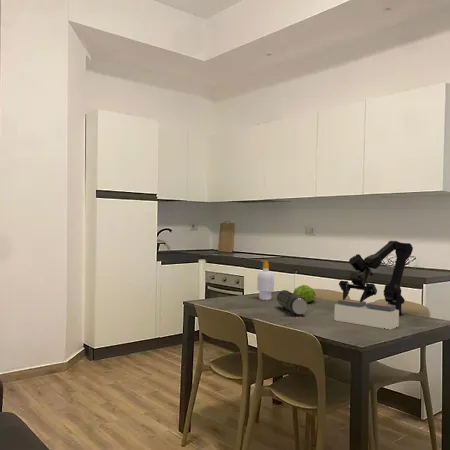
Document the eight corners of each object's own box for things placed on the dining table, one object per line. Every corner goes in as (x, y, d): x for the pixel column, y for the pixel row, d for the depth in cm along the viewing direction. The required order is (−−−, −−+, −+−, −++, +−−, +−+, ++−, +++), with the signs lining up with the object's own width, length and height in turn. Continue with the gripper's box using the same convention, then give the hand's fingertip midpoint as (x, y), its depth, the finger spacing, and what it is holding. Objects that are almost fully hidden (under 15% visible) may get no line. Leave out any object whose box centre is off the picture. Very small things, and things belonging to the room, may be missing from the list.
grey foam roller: (292, 307, 275) (292, 289, 275) (308, 317, 247) (309, 297, 247) (276, 307, 273) (276, 289, 273) (291, 317, 245) (291, 297, 245)
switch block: (343, 317, 245) (343, 302, 245) (398, 326, 226) (398, 309, 226) (334, 320, 239) (334, 304, 239) (390, 329, 219) (390, 312, 219)
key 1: (343, 302, 244) (343, 298, 244) (365, 305, 236) (365, 301, 236) (338, 303, 239) (338, 300, 239) (360, 306, 231) (360, 303, 231)
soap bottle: (256, 297, 307) (257, 260, 307) (273, 298, 306) (273, 260, 306) (257, 300, 297) (257, 261, 296) (274, 300, 296) (274, 261, 296)
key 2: (371, 305, 234) (371, 302, 233) (395, 309, 225) (395, 305, 225) (365, 307, 229) (366, 303, 229) (390, 310, 221) (390, 306, 221)
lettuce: (320, 290, 306) (304, 278, 309) (317, 294, 283) (300, 280, 286) (308, 305, 308) (292, 293, 311) (305, 309, 284) (288, 296, 287)
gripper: (340, 264, 248) (329, 288, 239) (375, 267, 235) (364, 292, 227) (347, 279, 253) (337, 302, 245) (381, 282, 241) (371, 306, 233)
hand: (351, 300), depth 237 cm, fingers open, 9 cm apart
